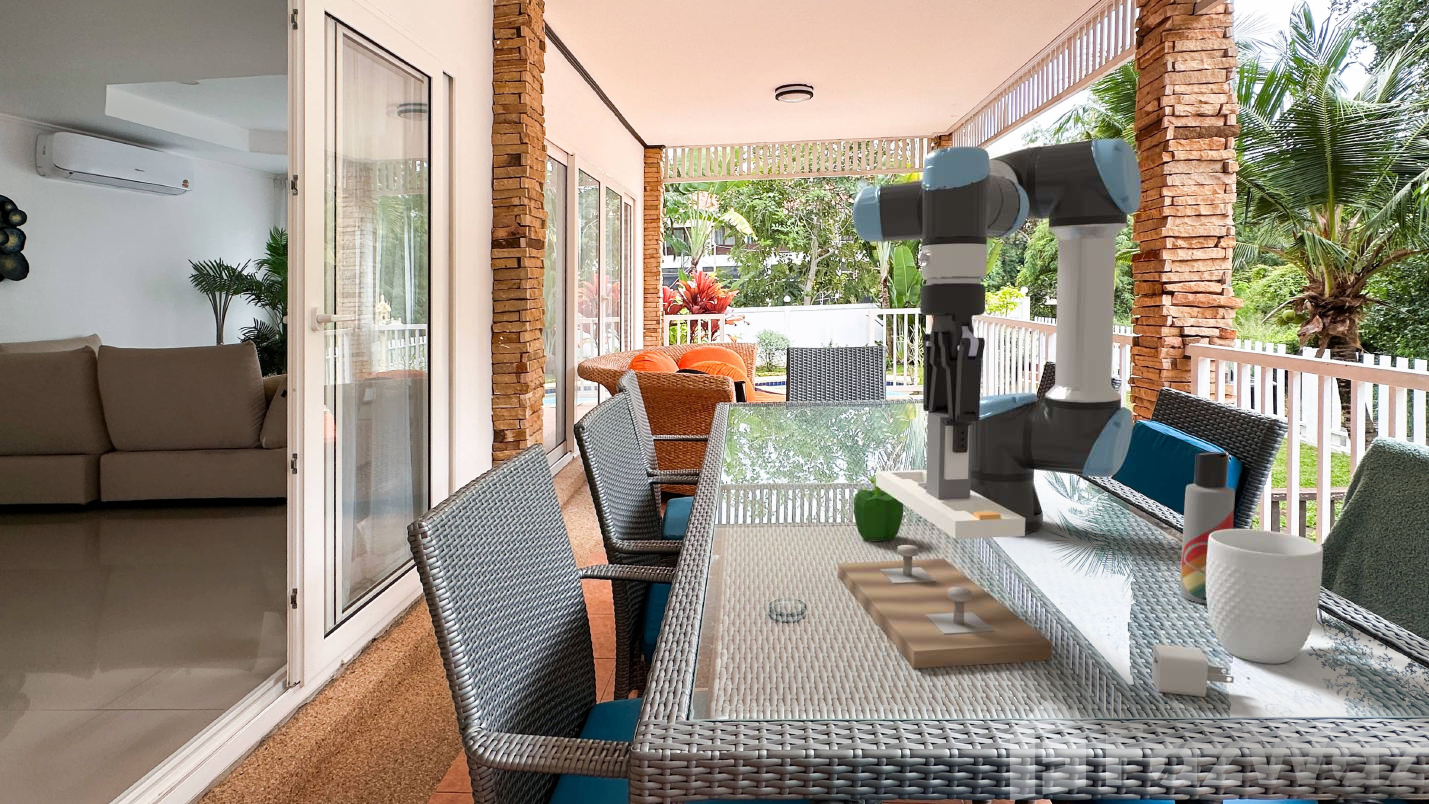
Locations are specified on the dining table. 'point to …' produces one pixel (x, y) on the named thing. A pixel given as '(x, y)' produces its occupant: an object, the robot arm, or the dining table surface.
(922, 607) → the pin board
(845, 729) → the dining table surface
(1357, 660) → the dining table surface
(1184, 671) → the usb wall charger
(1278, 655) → the mug
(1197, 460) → the lotion bottle
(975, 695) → the dining table surface
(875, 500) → the bell pepper
